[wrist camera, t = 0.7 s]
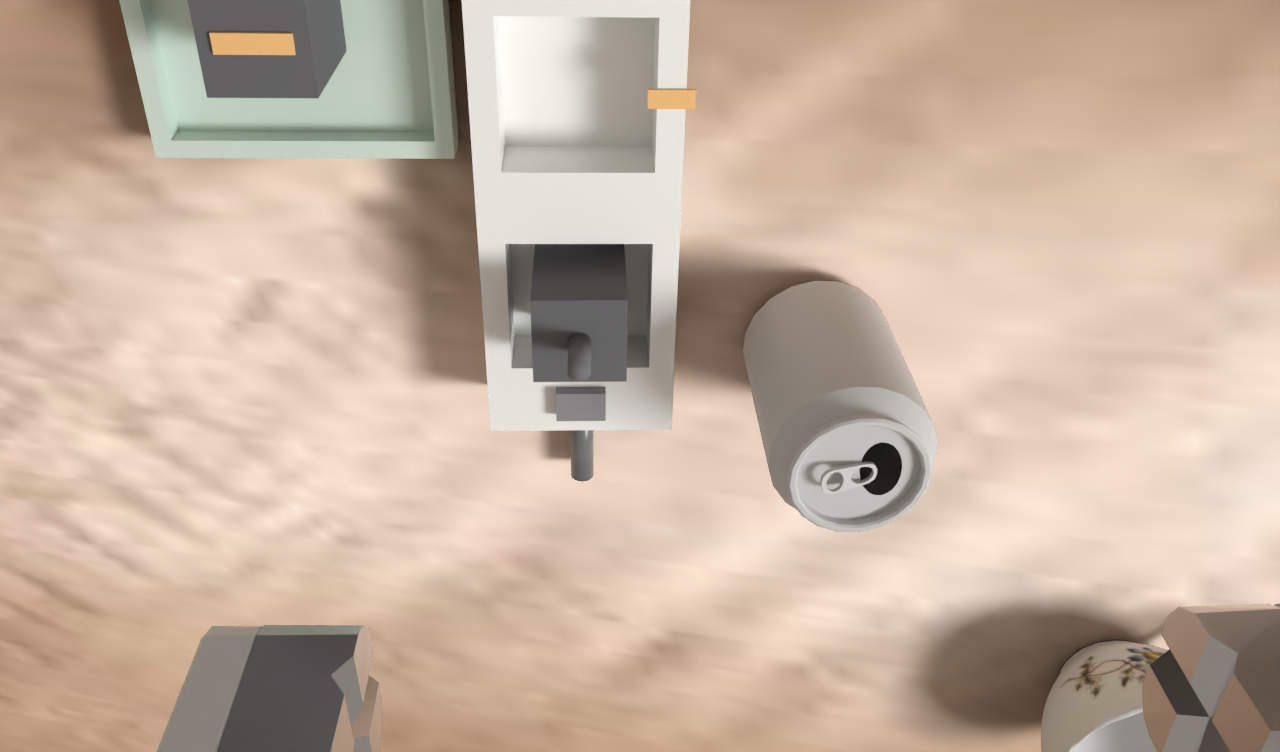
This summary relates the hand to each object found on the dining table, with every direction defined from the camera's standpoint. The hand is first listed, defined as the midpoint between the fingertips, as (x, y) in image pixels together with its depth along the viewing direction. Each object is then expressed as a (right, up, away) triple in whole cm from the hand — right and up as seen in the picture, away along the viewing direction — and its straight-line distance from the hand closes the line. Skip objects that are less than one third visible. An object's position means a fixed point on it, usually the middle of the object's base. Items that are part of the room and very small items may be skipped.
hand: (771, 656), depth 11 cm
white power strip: (-4, +10, +42) cm, 43 cm away
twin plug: (-4, +8, +42) cm, 43 cm away
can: (+8, +5, +46) cm, 47 cm away
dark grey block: (-16, +19, +35) cm, 43 cm away
